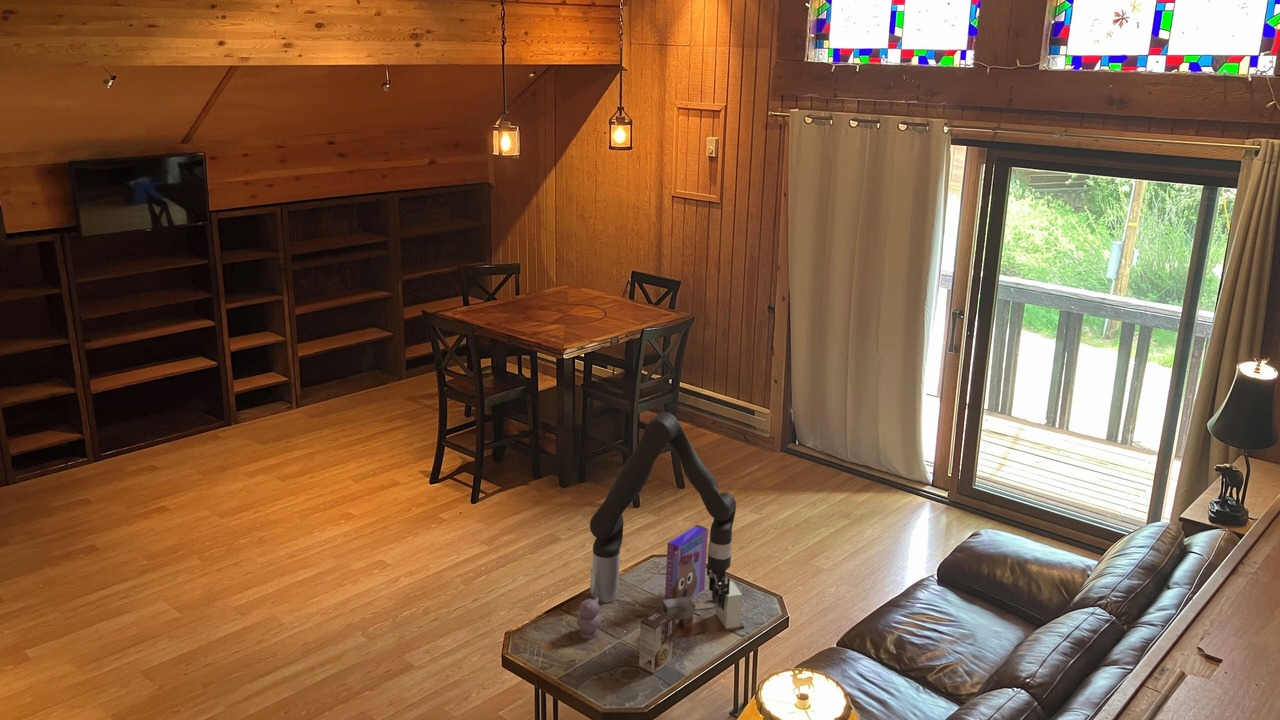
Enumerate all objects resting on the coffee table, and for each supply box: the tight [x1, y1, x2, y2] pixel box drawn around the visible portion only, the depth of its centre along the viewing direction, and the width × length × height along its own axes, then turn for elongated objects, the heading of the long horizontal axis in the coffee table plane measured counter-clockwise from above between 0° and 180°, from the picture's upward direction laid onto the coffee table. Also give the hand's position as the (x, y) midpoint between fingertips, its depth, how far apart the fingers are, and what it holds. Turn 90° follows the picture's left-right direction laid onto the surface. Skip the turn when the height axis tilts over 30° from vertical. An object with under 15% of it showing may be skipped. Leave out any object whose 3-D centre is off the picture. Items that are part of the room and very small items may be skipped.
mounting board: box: [661, 597, 745, 639], centre depth 330 cm, size 27×9×10 cm, turn 107°
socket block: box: [715, 580, 743, 628], centre depth 332 cm, size 5×9×12 cm, turn 17°
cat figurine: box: [576, 598, 603, 640], centre depth 323 cm, size 8×8×12 cm
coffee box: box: [638, 608, 674, 674], centre depth 308 cm, size 9×6×16 cm
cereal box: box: [664, 524, 709, 600], centre depth 345 cm, size 17×5×24 cm, turn 143°
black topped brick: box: [692, 584, 725, 612], centre depth 329 cm, size 16×3×8 cm, turn 107°
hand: (716, 596), depth 330 cm, fingers open, 8 cm apart
